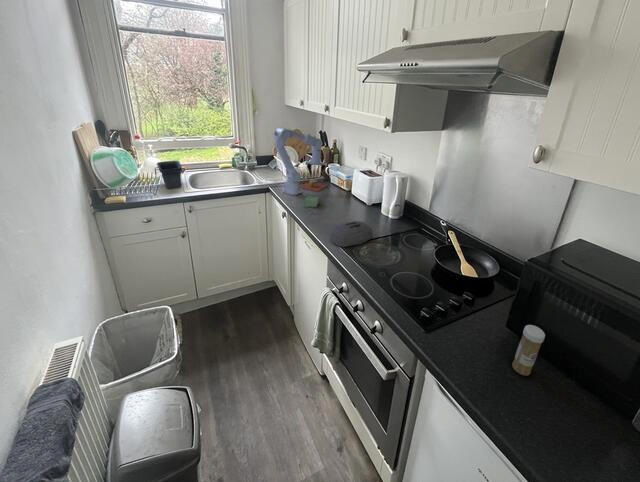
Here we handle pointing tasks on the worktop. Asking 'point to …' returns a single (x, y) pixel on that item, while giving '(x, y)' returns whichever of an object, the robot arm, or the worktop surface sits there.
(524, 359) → the sprinkles bottle
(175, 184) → the storage bin
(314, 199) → the sage block
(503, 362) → the worktop surface
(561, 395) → the worktop surface
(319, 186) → the mat
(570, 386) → the worktop surface
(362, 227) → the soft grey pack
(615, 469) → the worktop surface
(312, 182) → the maple cube
